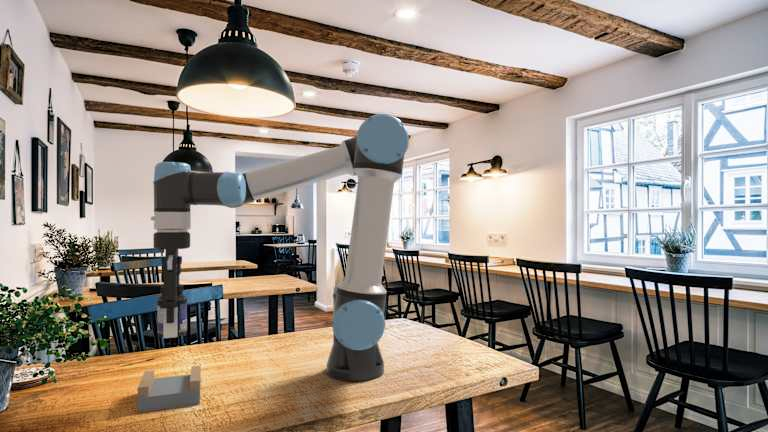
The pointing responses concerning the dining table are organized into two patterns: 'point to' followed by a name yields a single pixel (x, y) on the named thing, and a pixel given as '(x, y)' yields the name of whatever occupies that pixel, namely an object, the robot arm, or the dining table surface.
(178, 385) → the display plinth
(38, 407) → the dining table surface
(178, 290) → the pill bottle
